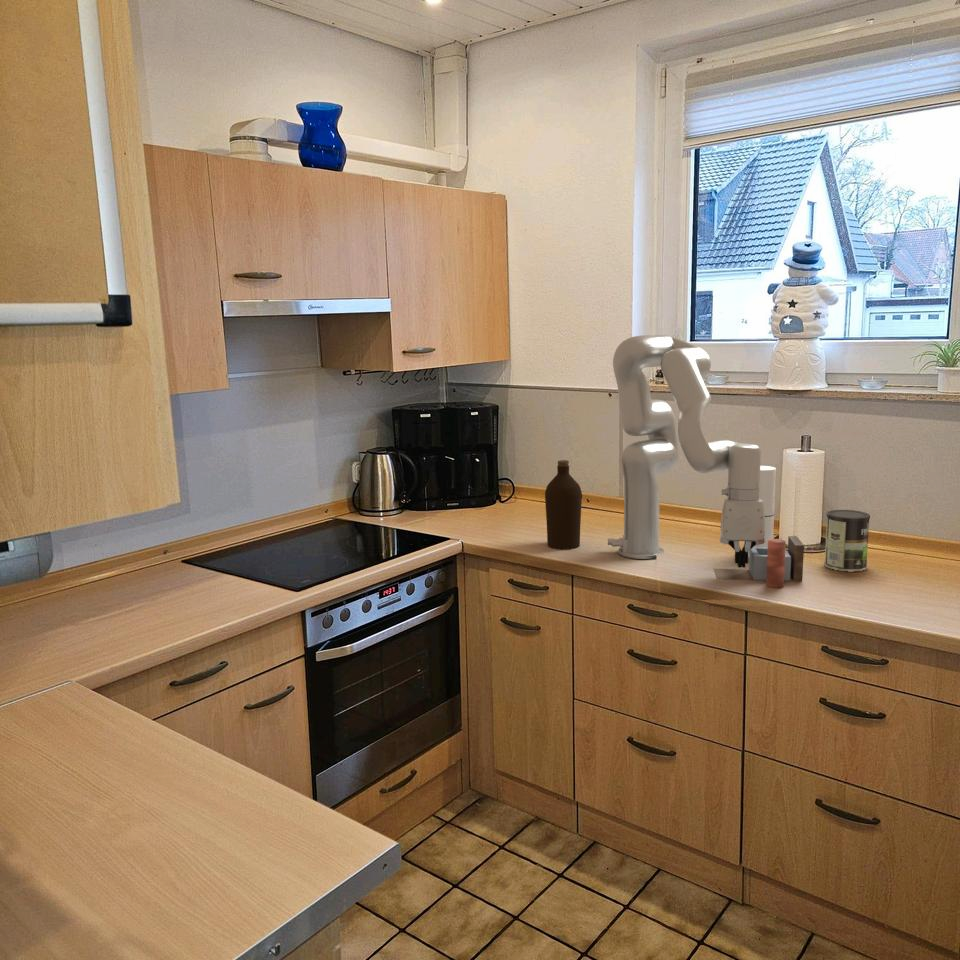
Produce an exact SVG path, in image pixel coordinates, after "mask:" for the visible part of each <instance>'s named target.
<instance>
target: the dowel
mask: <svg viewBox="0 0 960 960" xmlns="http://www.w3.org/2000/svg"><path fill="white" fill-rule="evenodd" d="M786 545H787V541H786V540H784V539H781V538H773V539H770V540H768V553H767V577H766V582H765V586H766V587H768V588H770V589H782V588H785V581H784V571H785V549H786V547H787V546H786ZM786 550H787V549H786Z"/></svg>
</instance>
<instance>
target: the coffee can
mask: <svg viewBox="0 0 960 960" xmlns="http://www.w3.org/2000/svg"><path fill="white" fill-rule="evenodd" d="M870 519H871V514H869V513H867V512H864V511H860V510H853V509H834V510H833V509H832V510H829V511H826V531H825V549H824V550H825V551H824V563H823V564H824V567H825V568H827V567H828V568H827V569H829V568H830V570H832V569H834V570H833V571H837V570H839V571H838V572H844V571H848V572H847V573H855V572H854V571H860V572H863V570H864V571H866V570H867V568H868V567H867V564H868V548H869V547H868V545H869V531H870V528H869V527H870Z"/></svg>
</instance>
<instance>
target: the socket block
mask: <svg viewBox="0 0 960 960" xmlns="http://www.w3.org/2000/svg"><path fill="white" fill-rule="evenodd" d="M767 553H768V547H753V548H752V549H751V550H750V552H749V558H748V570H749V571H750V573H751V575H752V577H753V579H754V580H753V581H762V580H766V577H767ZM790 570H791V556H790V555H789V553H788V549H785V571H784V582H791V581H790Z"/></svg>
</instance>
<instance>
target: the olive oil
mask: <svg viewBox="0 0 960 960" xmlns="http://www.w3.org/2000/svg"><path fill="white" fill-rule="evenodd" d="M569 463H570V462H569V460H565V459H561V460H558V461H557V466H556V468H557V469H556V470H557V473H556V475H555V476H554V478H553V479H551V480H550V482H549V483H548V484H547V486H546V487H545V492H544V500H545V502H544V504H545V518H546V519H545V520H546V538H547V540H546V541H547V543H546V545H547V546H548V547H549V548H550V547H551V548H550V549H554V548H555V550H573V549H572V548H574V549H576V548H579V547H580V546H581V523H582V522H581V521H582V520H581V519H582V517H581V516H582V500H583V493H582V489H581V486H580V484H579V483H578V482H577V481H576V480H575V479H574V478H573V477H572V475H571V474H570V464H569Z"/></svg>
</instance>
